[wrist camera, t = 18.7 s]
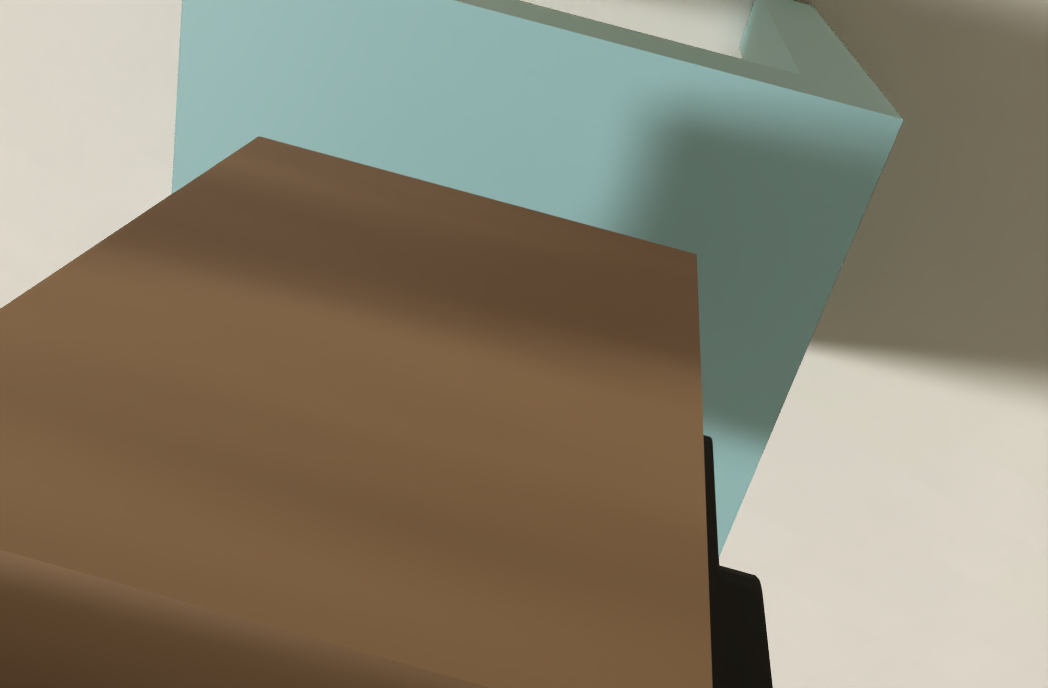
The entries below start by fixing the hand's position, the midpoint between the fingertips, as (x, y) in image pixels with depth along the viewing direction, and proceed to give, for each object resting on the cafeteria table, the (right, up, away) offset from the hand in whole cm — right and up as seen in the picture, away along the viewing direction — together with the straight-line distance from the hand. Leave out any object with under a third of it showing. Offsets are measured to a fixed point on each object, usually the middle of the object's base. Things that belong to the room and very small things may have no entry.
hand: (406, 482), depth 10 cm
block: (0, +1, 0) cm, 1 cm away
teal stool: (+2, +7, +12) cm, 14 cm away
